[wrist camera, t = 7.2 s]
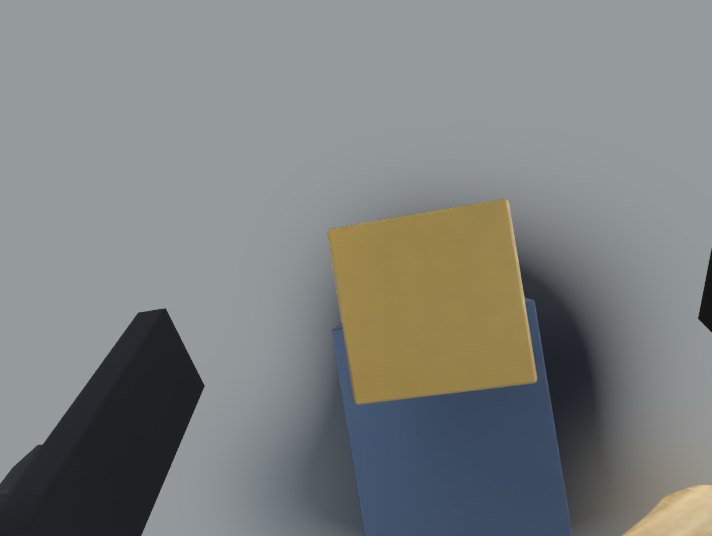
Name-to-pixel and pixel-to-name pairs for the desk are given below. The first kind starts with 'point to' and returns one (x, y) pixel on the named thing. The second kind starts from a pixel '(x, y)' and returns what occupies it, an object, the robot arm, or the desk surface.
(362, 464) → the door post
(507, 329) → the bar
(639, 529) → the desk surface
